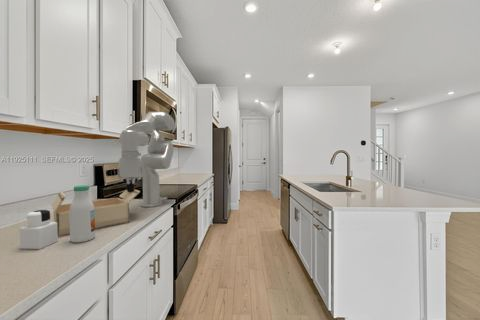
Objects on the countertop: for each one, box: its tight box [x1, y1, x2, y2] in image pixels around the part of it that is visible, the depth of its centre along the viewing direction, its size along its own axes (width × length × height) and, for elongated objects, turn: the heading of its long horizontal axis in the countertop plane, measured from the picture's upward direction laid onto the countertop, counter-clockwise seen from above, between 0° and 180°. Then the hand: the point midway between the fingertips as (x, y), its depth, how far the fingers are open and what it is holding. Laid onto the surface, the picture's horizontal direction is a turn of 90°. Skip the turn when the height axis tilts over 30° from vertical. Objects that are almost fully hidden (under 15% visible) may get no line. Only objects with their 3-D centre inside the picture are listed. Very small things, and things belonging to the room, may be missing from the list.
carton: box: [53, 197, 130, 237], centre depth 102 cm, size 26×20×9 cm
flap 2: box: [118, 188, 141, 203], centre depth 112 cm, size 1×17×6 cm
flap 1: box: [51, 191, 66, 213], centre depth 94 cm, size 1×17×6 cm, turn 43°
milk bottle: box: [69, 184, 96, 244], centre depth 84 cm, size 8×8×20 cm
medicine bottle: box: [19, 209, 59, 250], centre depth 79 cm, size 7×7×12 cm
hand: (130, 191), depth 112 cm, fingers closed
